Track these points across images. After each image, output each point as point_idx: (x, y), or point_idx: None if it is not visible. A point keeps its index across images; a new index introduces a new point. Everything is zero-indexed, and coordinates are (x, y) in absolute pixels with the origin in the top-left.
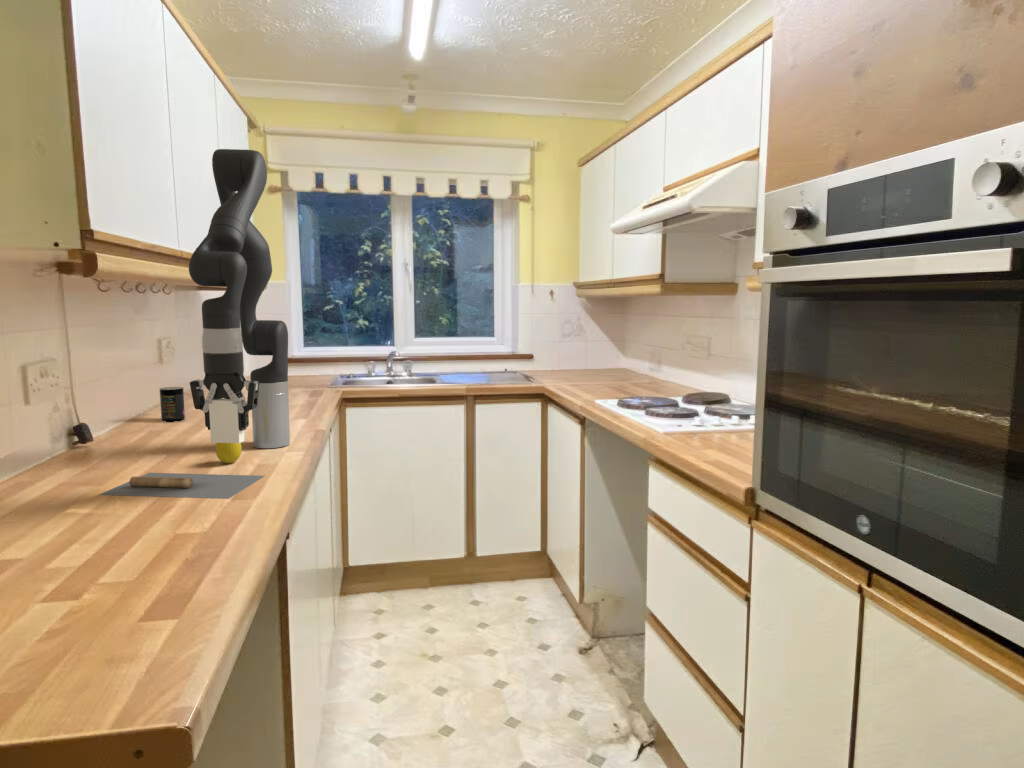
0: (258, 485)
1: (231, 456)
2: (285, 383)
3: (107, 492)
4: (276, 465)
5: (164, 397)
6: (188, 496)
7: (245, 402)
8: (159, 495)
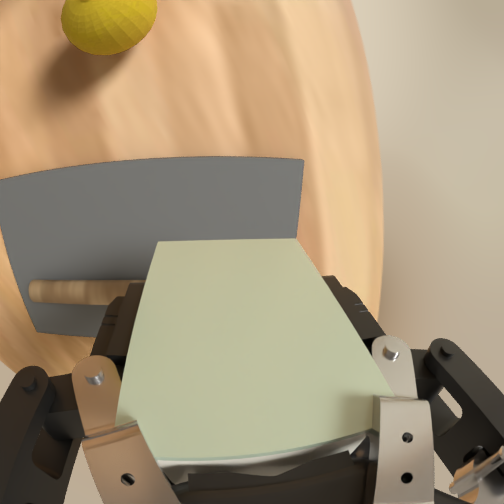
0: (305, 223)
1: (137, 42)
2: None
3: (36, 320)
4: (280, 19)
5: None
6: None
7: (409, 394)
8: None
